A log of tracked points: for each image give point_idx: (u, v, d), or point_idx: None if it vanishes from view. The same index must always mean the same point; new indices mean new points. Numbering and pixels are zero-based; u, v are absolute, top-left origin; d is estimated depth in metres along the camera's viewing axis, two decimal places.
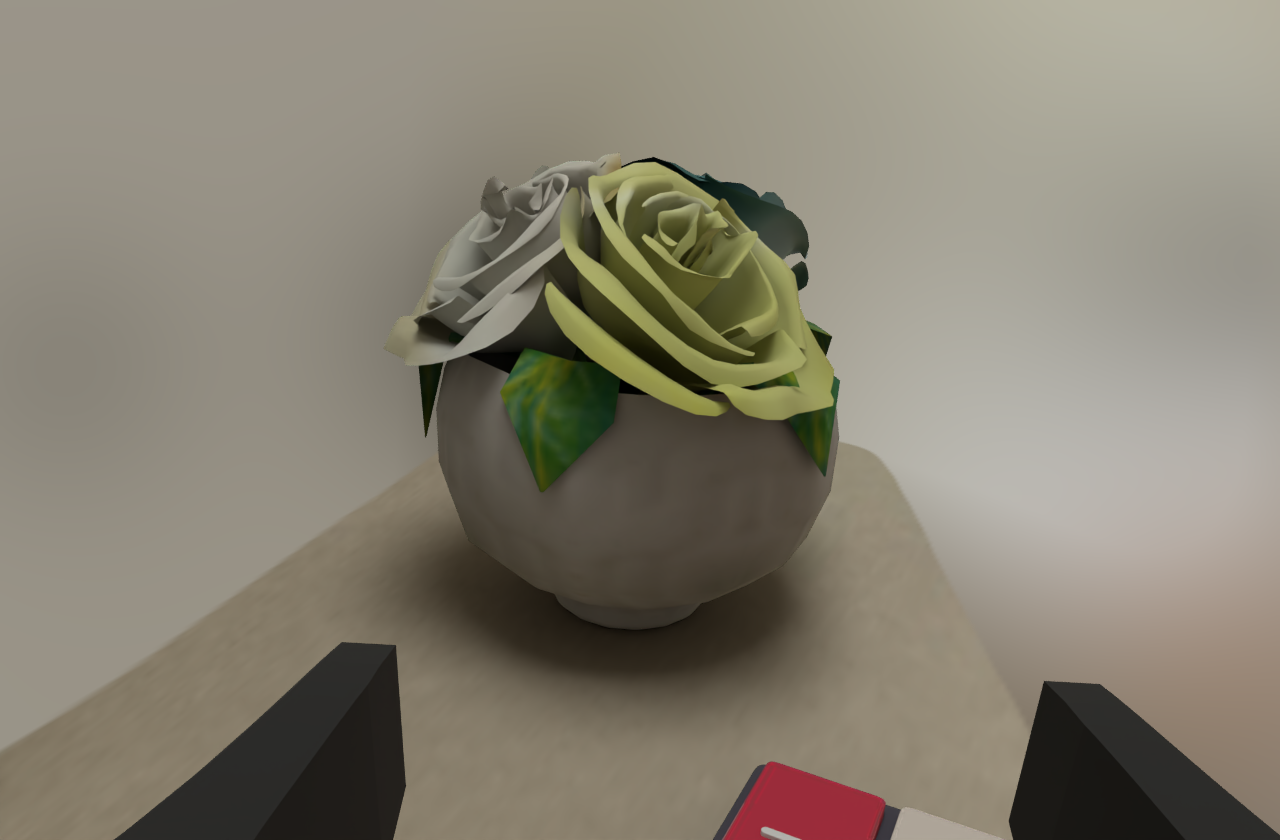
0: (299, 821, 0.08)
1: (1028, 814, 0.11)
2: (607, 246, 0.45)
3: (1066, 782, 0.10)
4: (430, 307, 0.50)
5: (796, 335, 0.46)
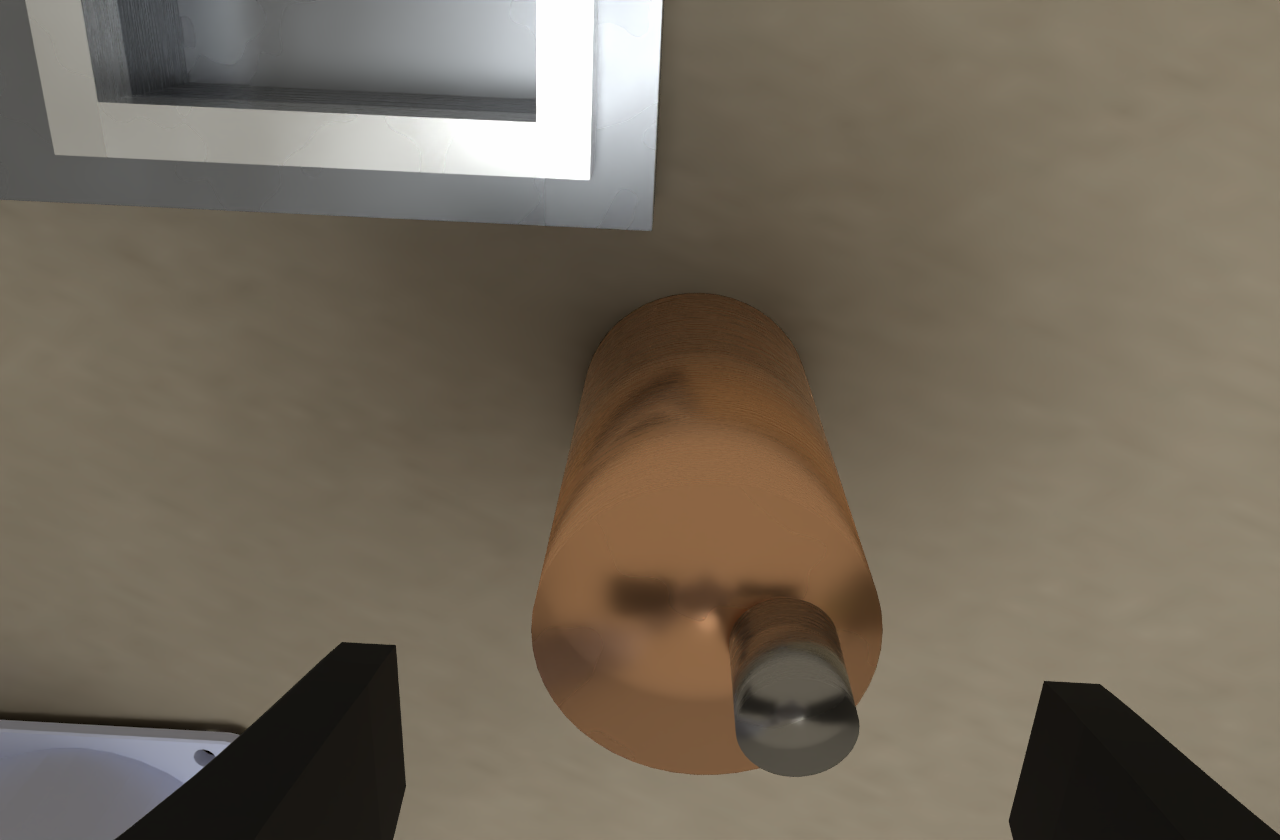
0: (299, 821, 0.08)
1: (1028, 814, 0.11)
2: None
3: (1066, 782, 0.10)
4: None
5: None
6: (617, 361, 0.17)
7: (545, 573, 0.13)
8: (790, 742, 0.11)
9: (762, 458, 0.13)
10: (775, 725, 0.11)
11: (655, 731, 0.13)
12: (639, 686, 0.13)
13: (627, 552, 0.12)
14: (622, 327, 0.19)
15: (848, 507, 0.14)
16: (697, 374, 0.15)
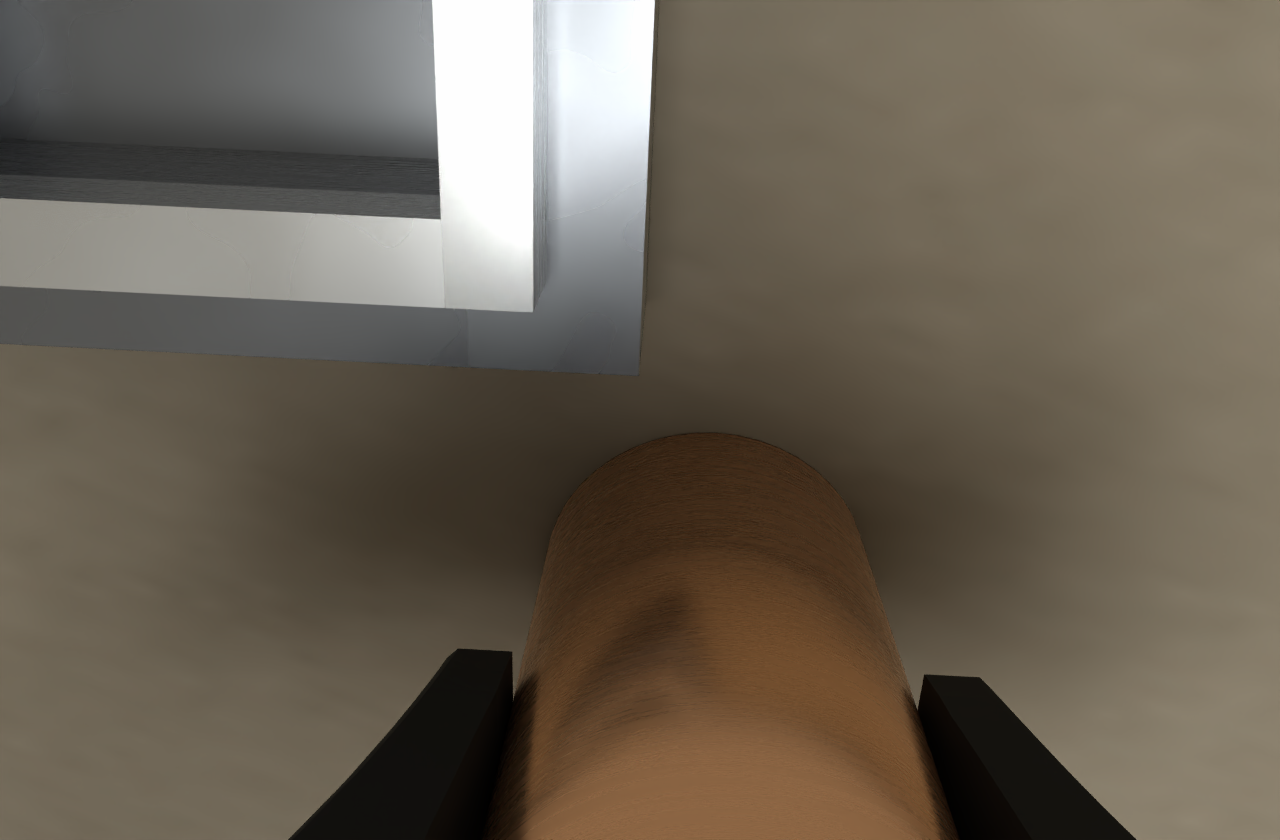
0: (448, 830, 0.08)
1: None
2: None
3: None
4: None
5: None
6: (587, 563, 0.11)
7: None
8: None
9: None
10: None
11: None
12: None
13: None
14: (598, 485, 0.13)
15: None
16: (712, 627, 0.09)
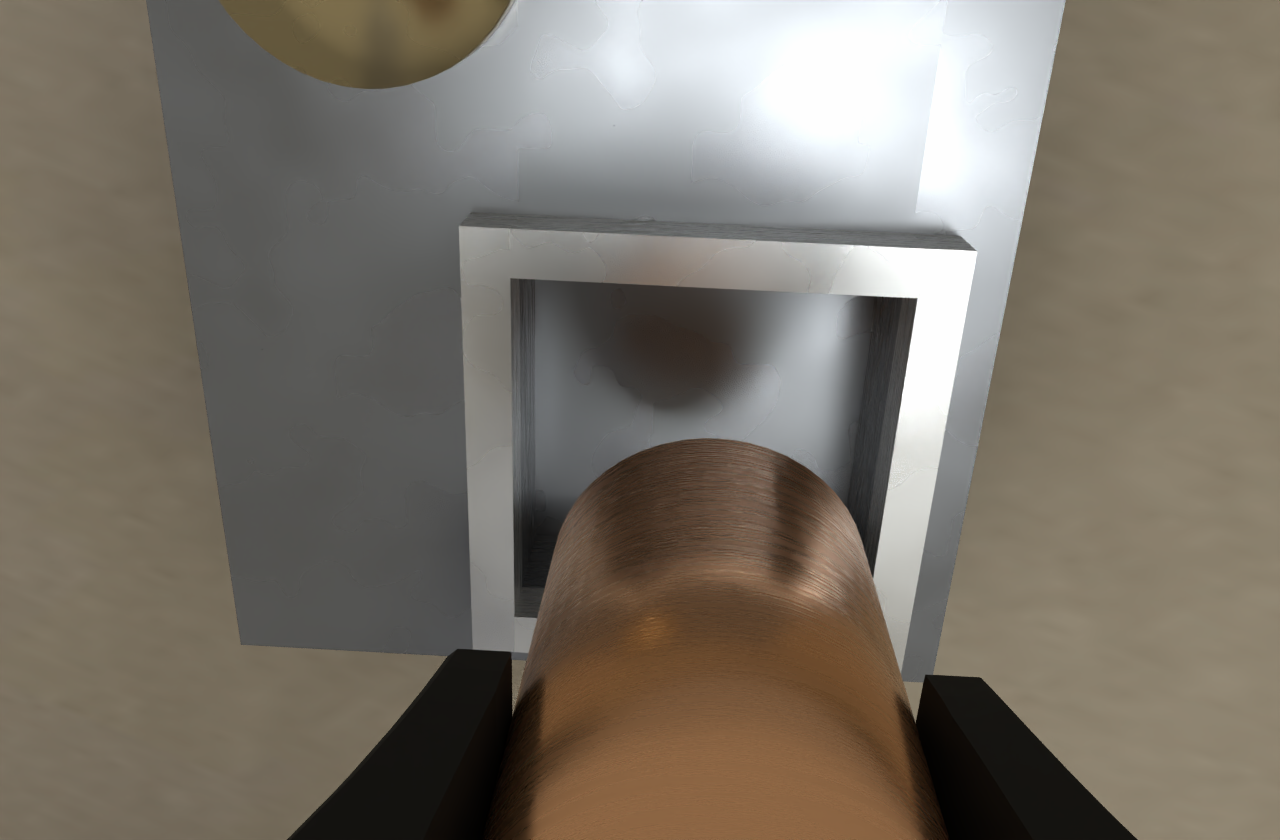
0: (447, 830, 0.08)
1: None
2: None
3: (939, 775, 0.10)
4: None
5: None
6: (577, 575, 0.12)
7: None
8: None
9: None
10: None
11: None
12: None
13: None
14: (592, 498, 0.13)
15: None
16: (688, 630, 0.10)
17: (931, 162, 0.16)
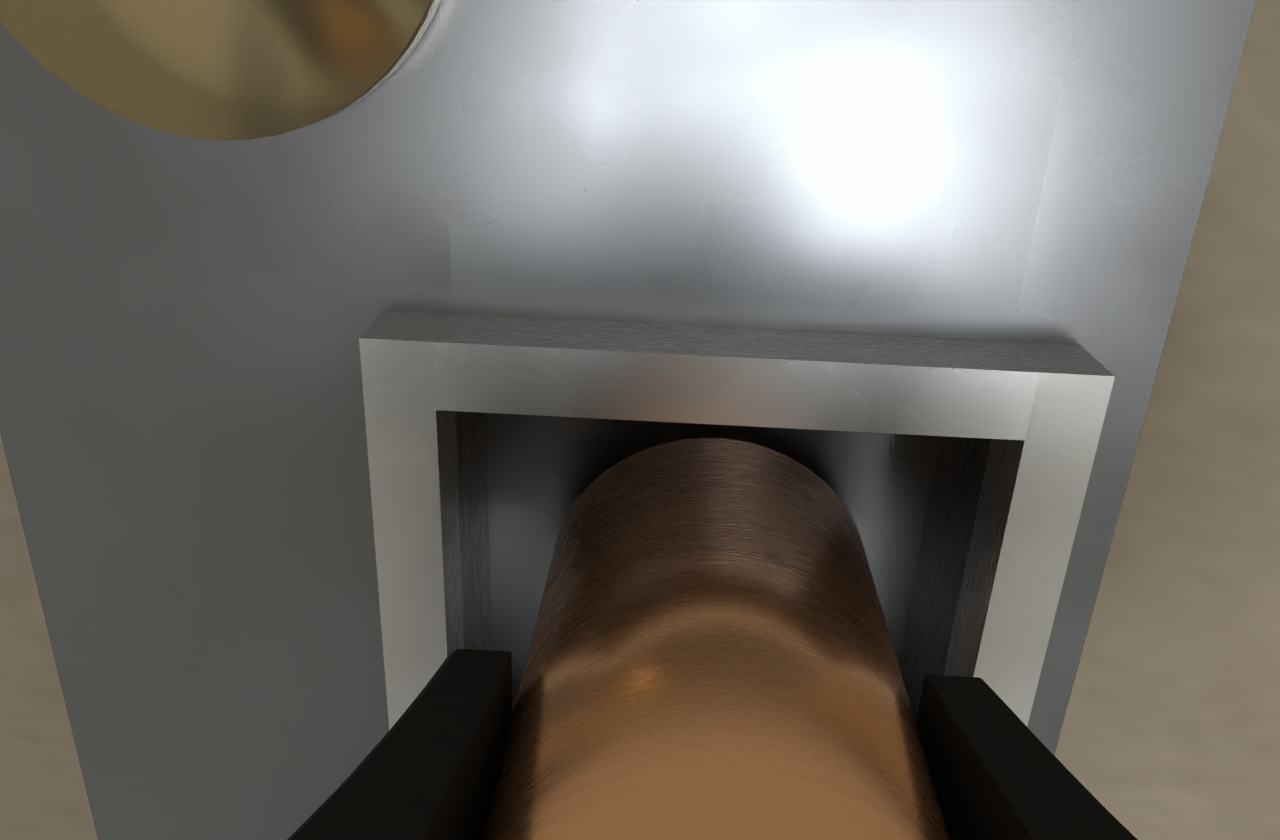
0: (448, 830, 0.08)
1: None
2: None
3: (939, 775, 0.10)
4: None
5: None
6: (577, 574, 0.12)
7: None
8: None
9: None
10: None
11: None
12: None
13: None
14: (592, 498, 0.13)
15: None
16: (688, 631, 0.10)
17: (1042, 242, 0.11)
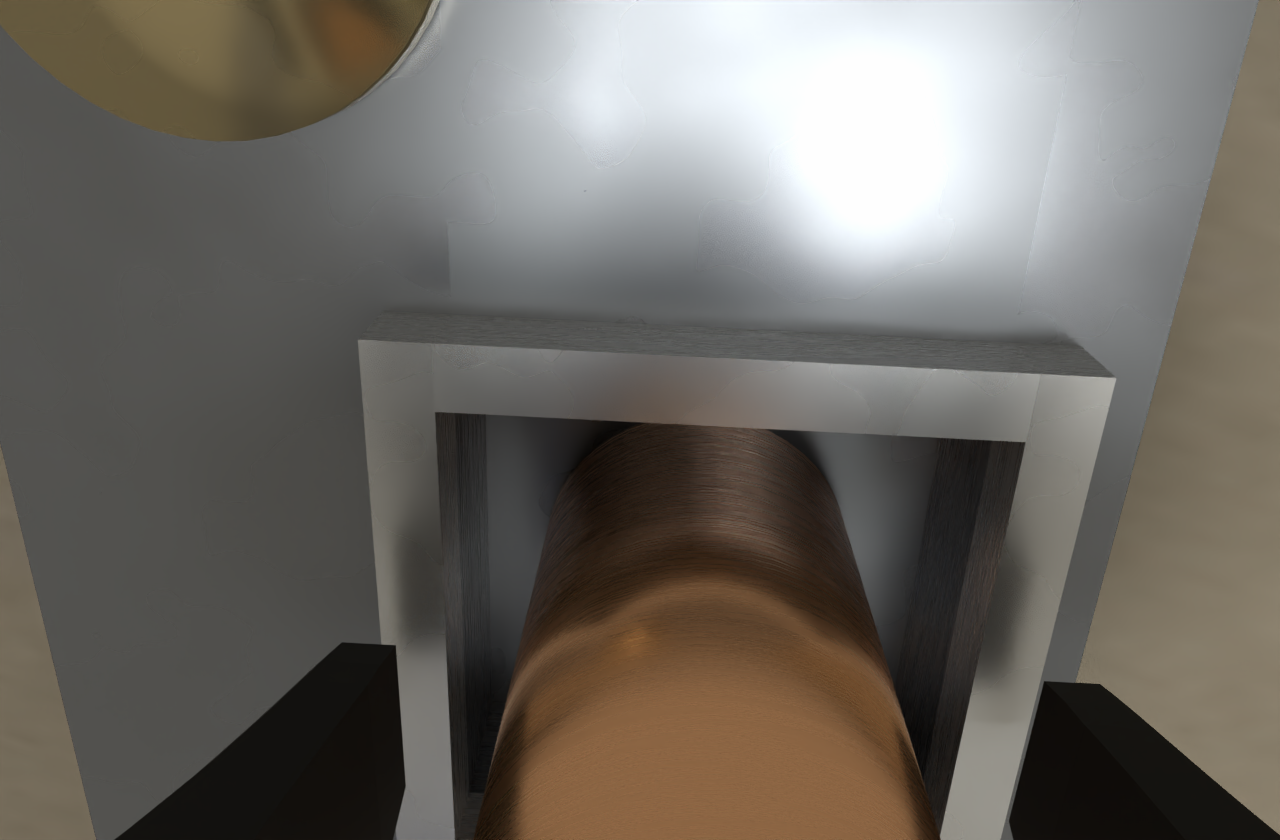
0: (299, 821, 0.08)
1: (1028, 814, 0.11)
2: None
3: (1066, 782, 0.10)
4: None
5: None
6: (572, 540, 0.12)
7: None
8: None
9: (778, 781, 0.08)
10: None
11: None
12: None
13: None
14: (585, 471, 0.14)
15: (924, 799, 0.09)
16: (677, 584, 0.10)
17: (1043, 243, 0.11)
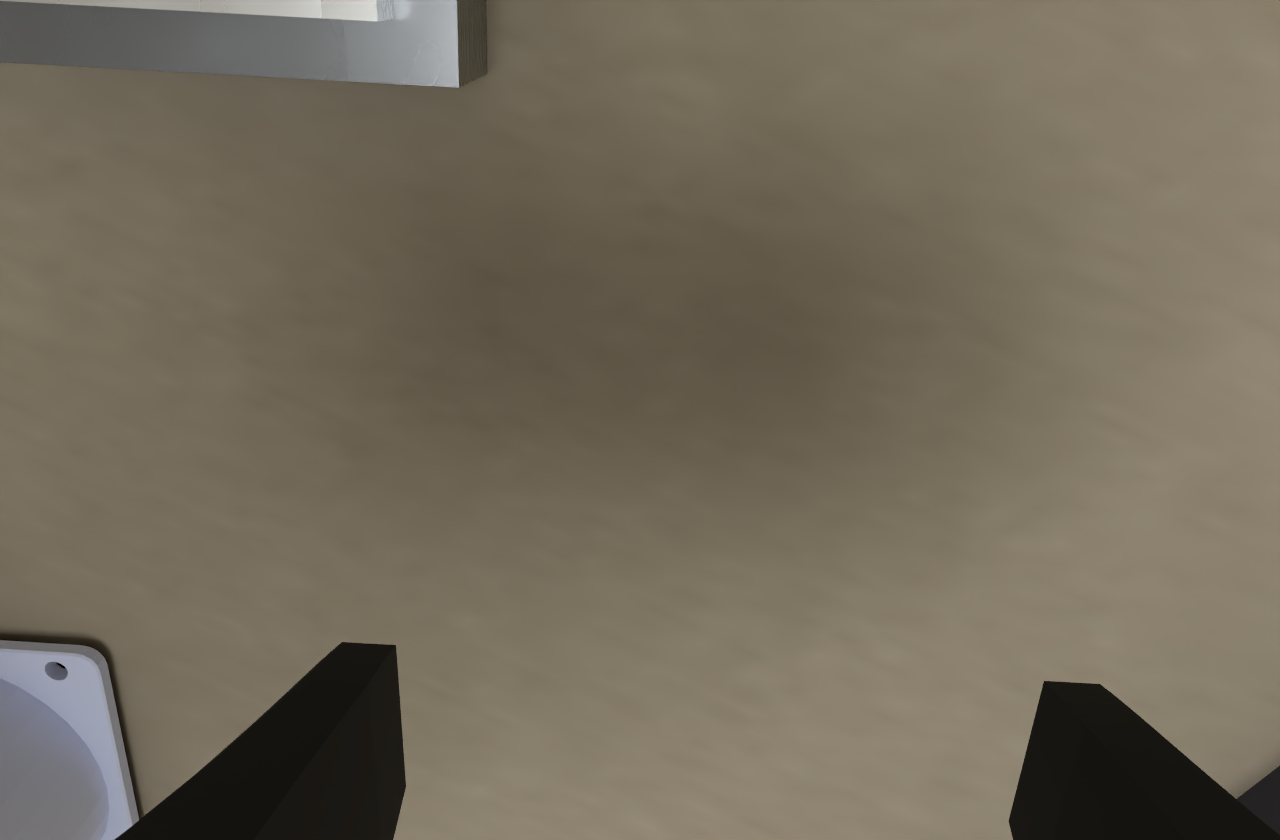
0: (299, 821, 0.08)
1: (1028, 814, 0.11)
2: None
3: (1066, 782, 0.10)
4: None
5: None
6: None
7: None
8: None
9: None
10: None
11: None
12: None
13: None
14: None
15: None
16: None
17: None
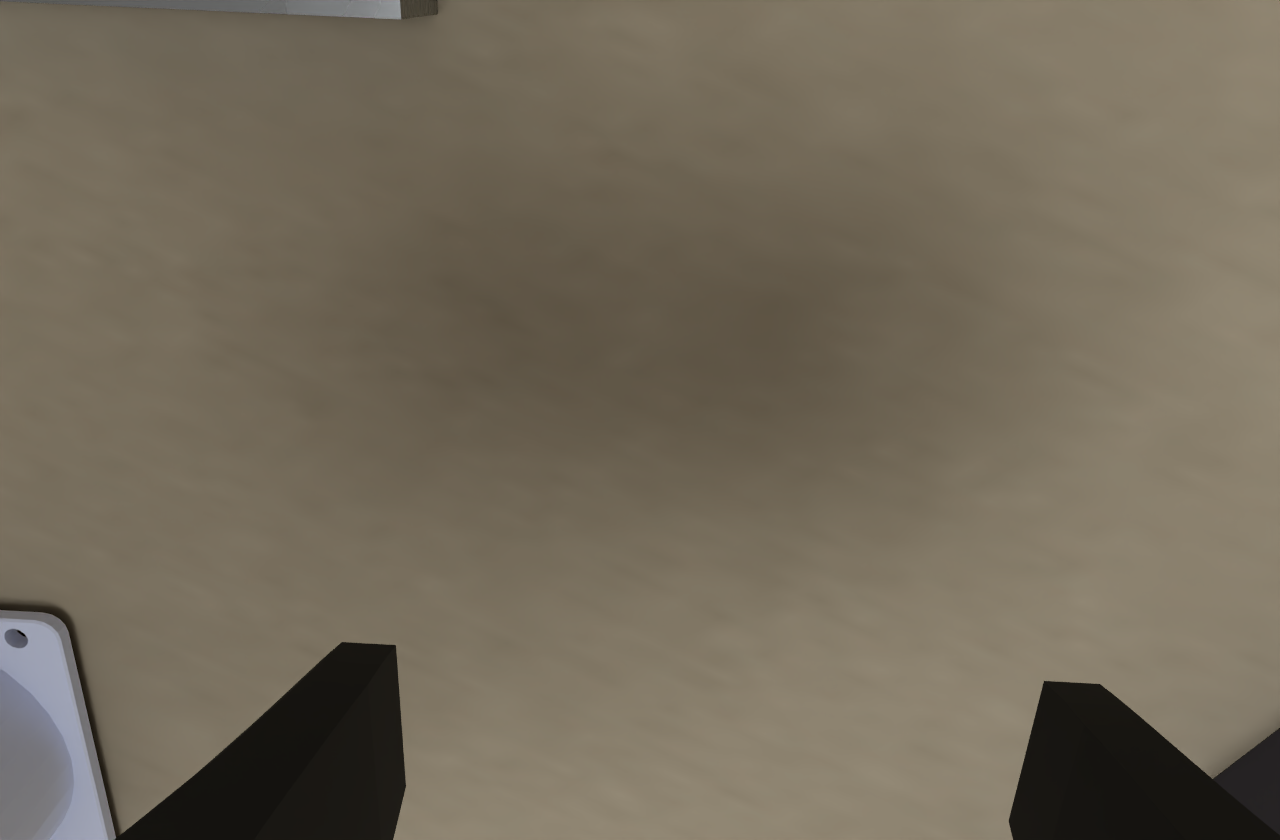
0: (299, 821, 0.08)
1: (1028, 814, 0.11)
2: None
3: (1066, 782, 0.10)
4: None
5: None
6: None
7: None
8: None
9: None
10: None
11: None
12: None
13: None
14: None
15: None
16: None
17: None
